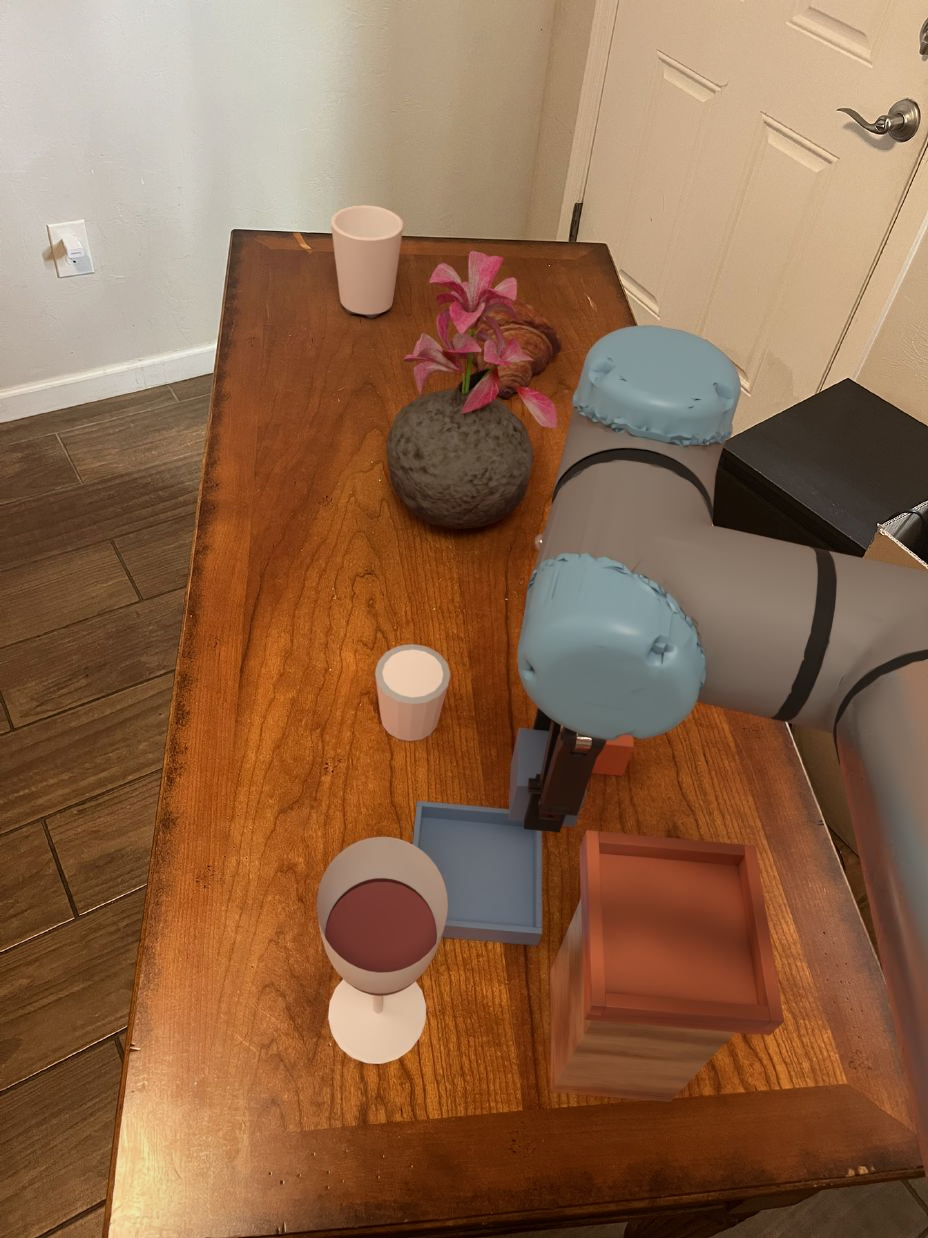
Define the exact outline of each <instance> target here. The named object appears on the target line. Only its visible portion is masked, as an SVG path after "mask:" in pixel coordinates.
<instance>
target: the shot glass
mask: <svg viewBox="0 0 928 1238" xmlns="http://www.w3.org/2000/svg"><path fill="white" fill-rule="evenodd" d="M449 667H450V666H449V664H448V662H447V661H446V659H445V658H444V657H443V656H442V654H440V653H439V652H437V651H436V650H434V649H433V648H431V647H428V646H427V645H420V644H414V643H411V644H403V645H397V646H396V647H393V648H391V649H389V650H387V651H385V653H384V654H383V655H382V656H381V657H380V658H379V660H377V664H376V668H375V671H374V676H375V684H376V690H377V691H376V692H377V698H378V706H379V715H380V721H381V725H382V727H383V728H384V729H385V731H386V732H387V733H388V734H389V735H391V736H392V737H394V738H395V739H398V740H401V741H407V742H414V741H421V740H423V739H425V738H427V737H428V736H430V735H432V733H433V732H434V731H435V730H436V728H437V727H438V723H439V720H440V716H441V713H442V709H443V706H444V701H445V698H446V695H447V691H448V686H449V684H450V679H451V671H450V668H449Z"/></svg>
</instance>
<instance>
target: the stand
mask: <svg viewBox="0 0 928 1238" xmlns="http://www.w3.org/2000/svg"><path fill="white" fill-rule="evenodd" d="M578 849H579V850H578V851H579V874H580V875H579V880H580V882H579V883H580V899H579V902H578V903H577V907H576V909H575V911H574V914H573V916H572V919H571V921H570V923H569V926H568V928H567V930H566V933H565V935H564V938H563V940H562V943H561V945H560V948H559V949H558V952H557V955H556V957H555V960H554V962H553V964H552V967H551V969H550V971H549V982H550V983H549V987H550V991H549V994H550V995H549V996H550V997H549V998H550V1000H549V1001H550V1010H549V1011H550V1013H549V1014H550V1093H557V1094H566V1095H567V1094H568V1095H579V1096H593V1097H605V1098H617V1099H627V1100H628V1099H629V1100H640V1101H641V1100H642V1101H651V1102H652V1101H653V1102H665V1103H671V1102H672V1101H673V1100H674V1099H675V1098H676V1097H677V1096H678V1095H679V1094H680V1093H681V1091H682V1090H683V1089H684V1088H685V1087H686V1086H687V1085H688V1084H689V1083H690V1082H691V1081H692V1080H693V1079H694V1078H695V1077H696V1076H697V1074H699V1072H700V1071H702V1069H704V1068H705V1066H706V1065H707V1064H708V1063H709V1062H710V1061H711V1059H713V1057H714V1056H715V1055H716V1054H717V1053H718V1052H719V1051H720V1050H721V1049H722V1048H723V1047H724V1046H725V1045H726V1043H728V1041H729V1040H730V1039H732V1037H733V1036H734V1035H735V1034H736V1033H737V1034H748V1035H759V1036H760V1035H761V1036H771V1035H773V1033H774V1032H775V1031H776V1030H777V1029H778V1028H779V1027H780V1026H781V1025H783V1023H784V1022H785V1017H784V1011H783V1005H782V999H781V993H780V987H779V982H778V981H779V980H778V974H777V968H776V962H775V957H774V951H773V945H772V938H771V933H770V927H769V921H768V915H767V908H766V903H765V896H764V890H763V883H762V878H761V872H760V866H759V861H758V860H759V859H758V854H757V847H756V845H753V844H743V843H731V842H720V841H710V840H699V839H688V838H678V837H667V836H655V835H643V834H633V833H622V832H611V831H598V830H590V829H589V830H588V829H587V830H585V832H584V835H583V838H582V841H581V843H580V846H579V848H578Z"/></svg>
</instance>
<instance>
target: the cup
mask: <svg viewBox="0 0 928 1238" xmlns="http://www.w3.org/2000/svg"><path fill="white" fill-rule="evenodd" d="M330 227H331V235H332V243H333V244H332V245H333V251H334V260H335V268H336V277H337V278H336V279H337V285H338V286H337V287H338V294H339V301H340V304H341V305H342V306H343V308H344V310H345V311H346V313H347V314H349V315H356V314H358V315H362V316H365V317H366V318H367V319H370V320H371V319H375V318H377V316H379V315H381V314H382V313H387V312H388V313H389V312H390V311H391V309H392V307H393V301H394V295H395V289H396V280H397V274H398V266H399V259H400V252H401V245H402V238H403V230H404V221H403V219H402V218H401V217H400V216H399V215H398V214H396V213H395V212H394V211H391V210H389V209H387V208H383V207H381V206H376V205H367V204H365V205H364V204H363V205H361V204H360V205H352V206H351V205H350V206H347V207H343V208H341V209H340V210H338V211H336V212H335V213H334V214H333V215H332V217H331V219H330Z"/></svg>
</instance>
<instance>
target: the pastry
mask: <svg viewBox="0 0 928 1238" xmlns="http://www.w3.org/2000/svg"><path fill="white" fill-rule="evenodd" d="M510 302H511V304H512V306H513V308H514V309H515V311H516V313H517V315H518V317H519V321H520V323H519V322H518V321H516V320H515V319H514V318H513V317H511V316H510V315H508V314H506V313H504V312H501V311H491V312H490V313H489V314H488V315H489V316H491V317H493V318H494V319H495V320H496V321H497V323H498V325H499V327H500V328H501V330H502V333H503V335H504V346H503V347H504V348H505V347H506V345H507V343H508V342H509V340H510V339H511V338H512V337H514V338H515V339H516V341H517V342H518V344H519V346H520V347H521V350H522V352H523V353H524V354H525V355H527V356H529V357H530V358H532V359H533V360H534V361H532V360H523V361H518V362H513V363H512V364H511V365H507V366H503V365H501V366H498V373H499V382H500V387H499V391H498V394H497V396H498V397H500V398H501V399H506V400H507V399H510V398H511V395H512V394H518V392H517V390H516V386H519V387H527V388H528V386H529V385H530V383H531V381H532V376H534V375H536V374H537V373H540V372H541V371H543V370H544V369H545V367H546V365H548V364H549V363H550V362H551V360H552V358H554V357H556V356H557V355H558V354H559V353H560V352H561V351H562V349H563V343H562V339H561V336H560V333H559V332H558V330H557V327H556V326H554V324H552V322H551V321H550V320H548V319H546V318H545V317H544V316H543V314H542V313H541V311H540V310H539V309H538V308H536V307H534V306H533V305H532V304H529V303H528V302H526V301H525V300H522V299H519V298H516V299H515V301H513V300H510ZM479 330H485V331H486V332H488V333H489V334H490V335H491V336H492V338H493V339H494V341H495V343H496V344H498V343H497V339H496V335H495V333H494V331H493V329H492V327H491V326H490V324H489V323H488V321H487V320H486V319H485V317H484V318H483V319H482V320H481V321H480V323H479V324H478V325H477V326H476V328H475V335H474V340H475V341H476V343H477V344H478V346H479V347H480V348H481V349H482V351H481V352H473V354H472V356H473V358H472V363H473V364H474V365H475V366H476V367H477V369H478V371H481V370H484V369H491V367H492V366H493V365H494V364H495V363H491V362H486V361H485V360H484V346H485V343H484V342H482V341H479V340H477V339H475V336H476V334H477V332H478V331H479ZM470 331H471V329H470V327H468V328H467V329H466V331H465V333H468V334H469V335H470Z"/></svg>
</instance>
